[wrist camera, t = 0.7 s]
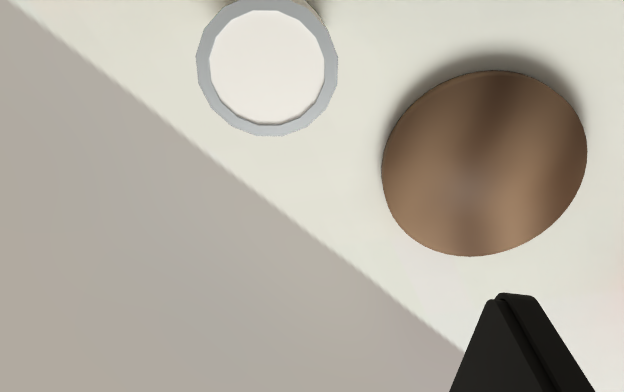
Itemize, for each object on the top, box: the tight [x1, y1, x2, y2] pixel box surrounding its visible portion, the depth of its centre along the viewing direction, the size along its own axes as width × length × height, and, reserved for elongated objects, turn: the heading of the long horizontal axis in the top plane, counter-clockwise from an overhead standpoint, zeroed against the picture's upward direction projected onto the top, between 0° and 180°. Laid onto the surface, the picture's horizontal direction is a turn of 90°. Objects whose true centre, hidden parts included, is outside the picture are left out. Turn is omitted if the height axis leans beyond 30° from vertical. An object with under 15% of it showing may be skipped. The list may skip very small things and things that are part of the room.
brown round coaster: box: [382, 70, 587, 257], centre depth 34 cm, size 13×13×1 cm
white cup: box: [196, 0, 338, 136], centre depth 28 cm, size 7×7×7 cm
